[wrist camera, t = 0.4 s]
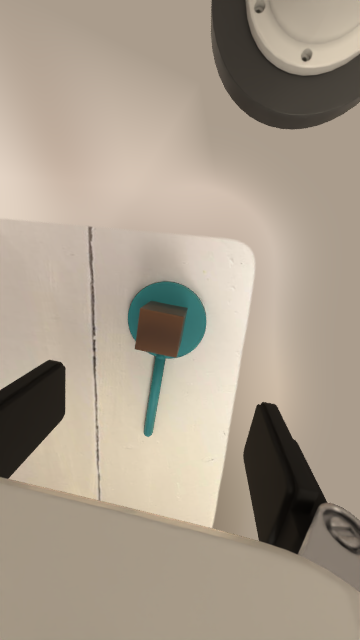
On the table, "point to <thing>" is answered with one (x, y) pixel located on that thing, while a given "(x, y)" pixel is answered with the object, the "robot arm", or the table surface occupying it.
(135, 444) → the table surface
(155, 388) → the teal lollipop paddle
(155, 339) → the block
